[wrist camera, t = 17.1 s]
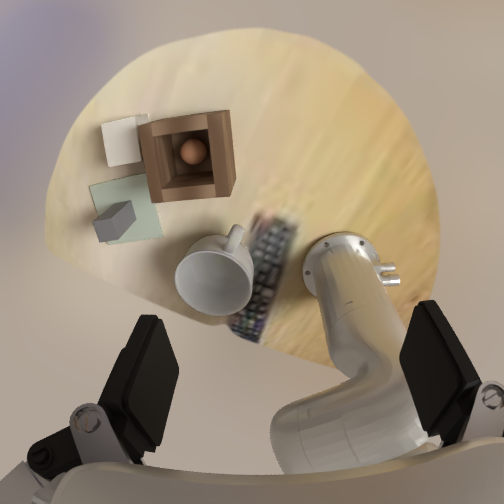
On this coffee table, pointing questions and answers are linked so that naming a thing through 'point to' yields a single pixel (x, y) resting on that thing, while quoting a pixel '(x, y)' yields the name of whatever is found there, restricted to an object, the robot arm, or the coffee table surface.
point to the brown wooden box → (176, 169)
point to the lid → (125, 211)
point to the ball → (193, 151)
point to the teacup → (216, 274)
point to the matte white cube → (123, 140)
